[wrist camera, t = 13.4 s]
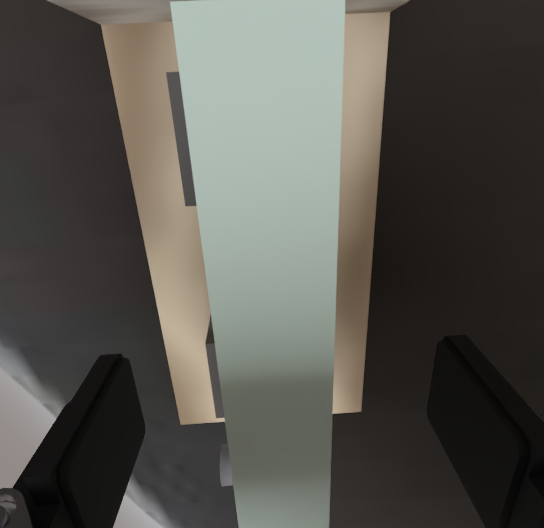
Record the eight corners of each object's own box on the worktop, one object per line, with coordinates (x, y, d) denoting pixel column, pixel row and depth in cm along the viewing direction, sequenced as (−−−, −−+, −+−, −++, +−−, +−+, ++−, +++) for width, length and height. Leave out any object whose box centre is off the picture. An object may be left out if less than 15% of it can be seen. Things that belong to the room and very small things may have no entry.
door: (282, 59, 16) (345, -6, 5) (291, 382, 24) (325, 628, 13) (196, 64, 16) (83, 4, 5) (233, 386, 24) (217, 637, 13)
